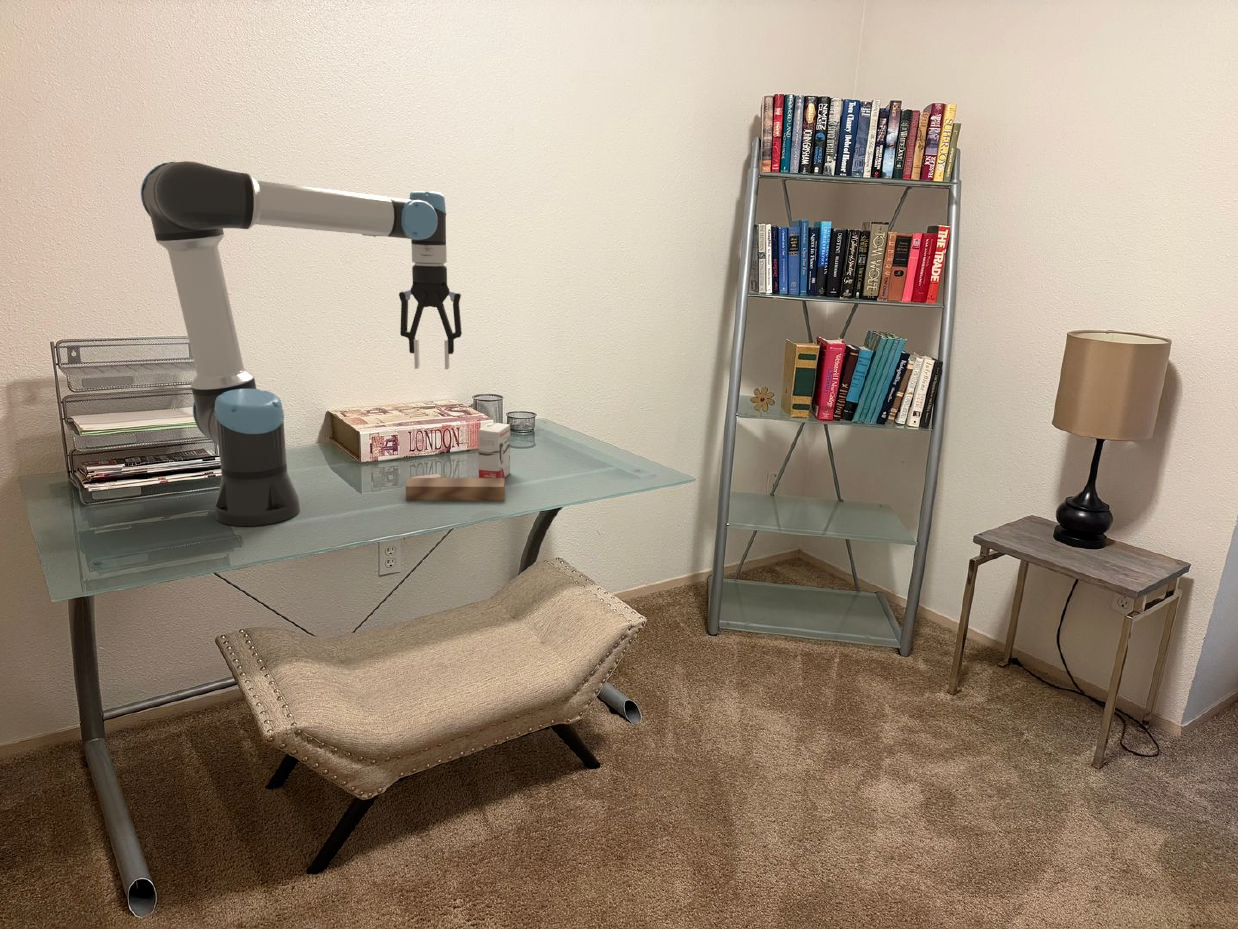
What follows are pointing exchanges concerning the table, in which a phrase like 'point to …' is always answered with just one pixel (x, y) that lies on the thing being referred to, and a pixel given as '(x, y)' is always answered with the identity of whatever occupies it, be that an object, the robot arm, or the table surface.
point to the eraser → (429, 476)
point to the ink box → (494, 450)
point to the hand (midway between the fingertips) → (432, 367)
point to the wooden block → (455, 489)
